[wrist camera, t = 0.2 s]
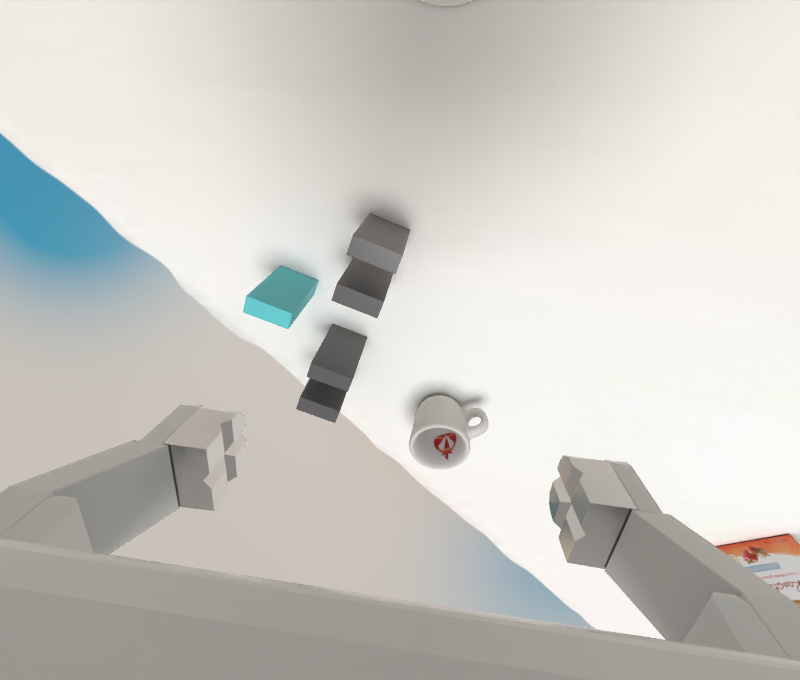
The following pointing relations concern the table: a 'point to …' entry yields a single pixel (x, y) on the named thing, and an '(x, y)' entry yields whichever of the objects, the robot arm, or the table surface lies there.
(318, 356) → the domino
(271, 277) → the domino teal
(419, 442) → the cup
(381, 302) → the domino
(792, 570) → the cracker box
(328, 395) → the domino
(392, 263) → the domino
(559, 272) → the table surface
